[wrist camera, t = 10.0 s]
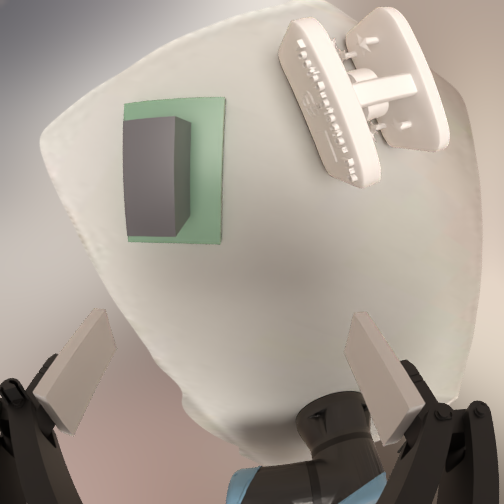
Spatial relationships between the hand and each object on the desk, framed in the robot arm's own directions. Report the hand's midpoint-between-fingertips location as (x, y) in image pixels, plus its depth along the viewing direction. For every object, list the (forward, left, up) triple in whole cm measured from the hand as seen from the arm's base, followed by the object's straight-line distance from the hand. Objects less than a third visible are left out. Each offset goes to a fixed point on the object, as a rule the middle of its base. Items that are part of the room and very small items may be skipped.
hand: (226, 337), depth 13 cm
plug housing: (+7, +7, -18) cm, 20 cm away
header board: (+6, +7, -19) cm, 21 cm away
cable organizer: (+15, -11, -20) cm, 27 cm away
